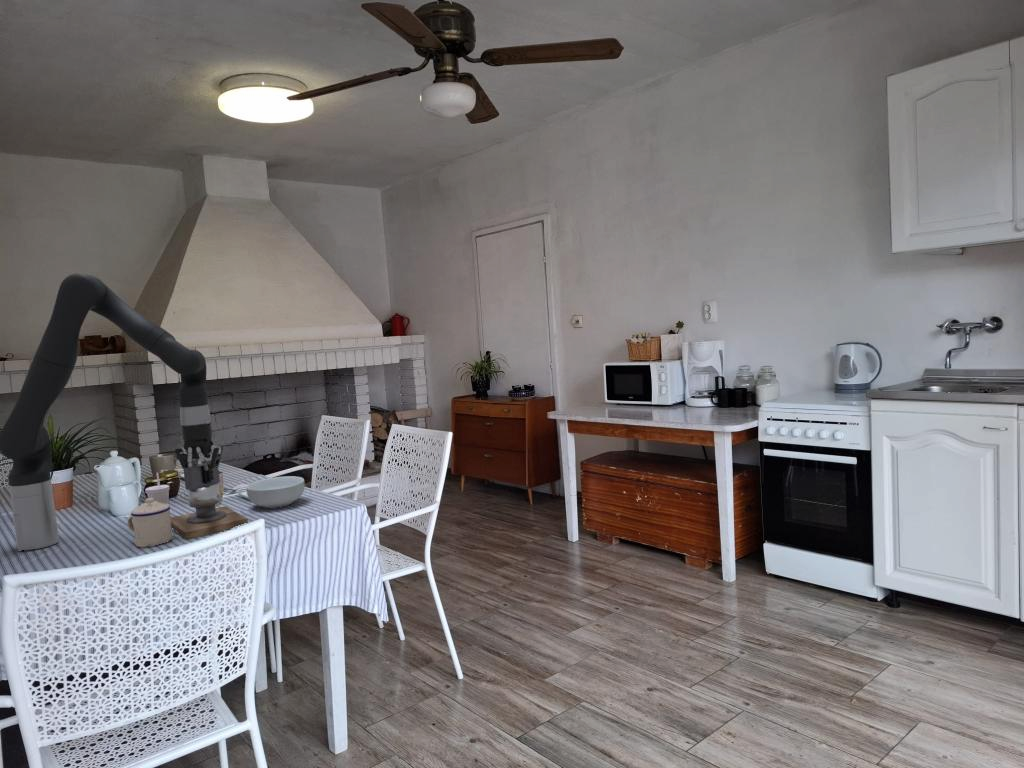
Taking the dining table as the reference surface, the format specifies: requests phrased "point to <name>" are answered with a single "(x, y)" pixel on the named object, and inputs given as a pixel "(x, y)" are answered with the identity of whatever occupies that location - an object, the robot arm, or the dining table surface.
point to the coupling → (201, 486)
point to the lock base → (206, 521)
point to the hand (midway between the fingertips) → (202, 482)
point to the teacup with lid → (151, 523)
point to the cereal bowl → (276, 491)
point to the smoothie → (158, 492)
